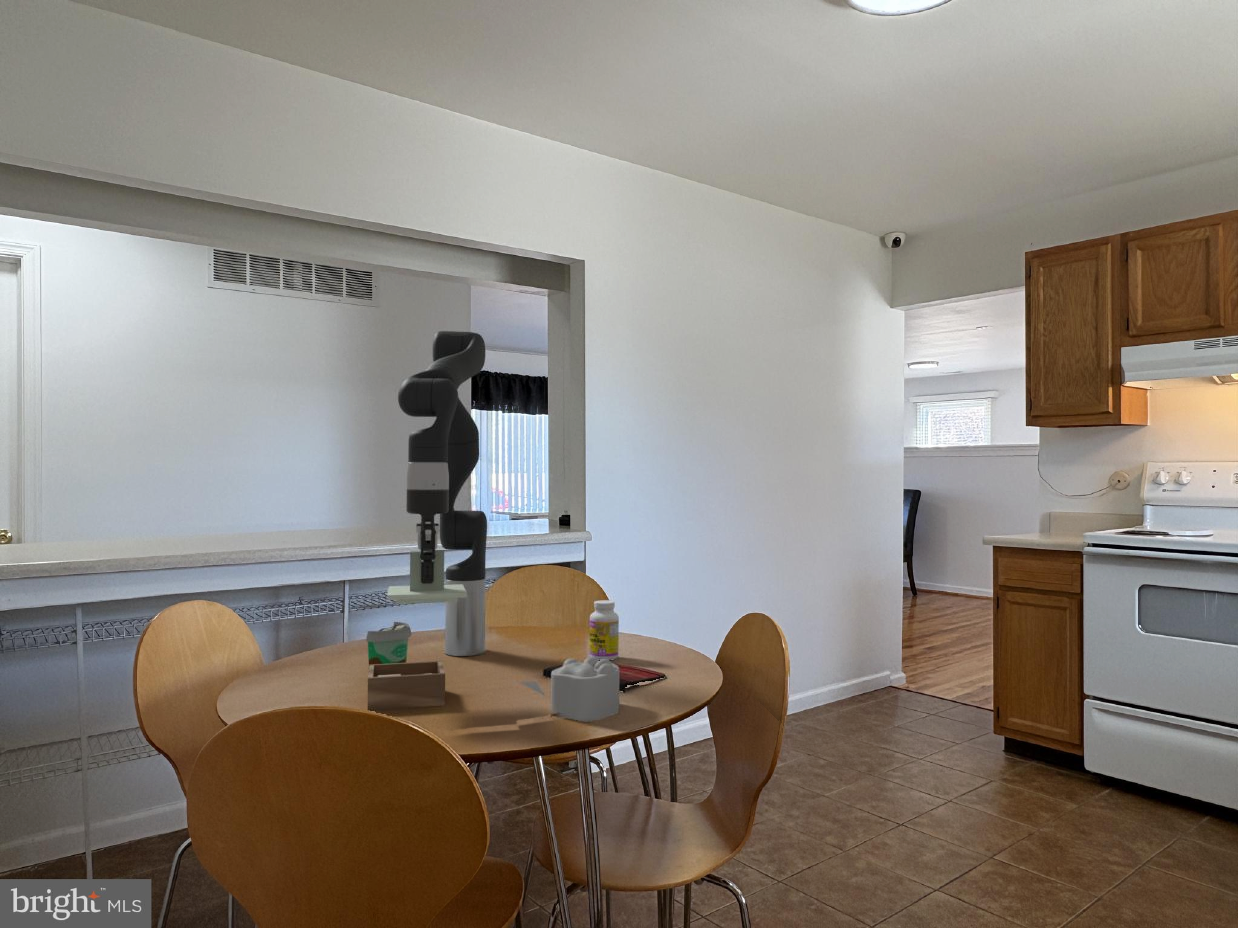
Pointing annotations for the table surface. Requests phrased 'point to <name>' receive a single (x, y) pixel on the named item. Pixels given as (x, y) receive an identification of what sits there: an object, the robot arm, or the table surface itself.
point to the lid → (426, 592)
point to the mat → (533, 686)
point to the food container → (388, 644)
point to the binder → (624, 675)
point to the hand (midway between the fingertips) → (427, 581)
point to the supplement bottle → (604, 631)
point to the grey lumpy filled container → (585, 689)
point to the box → (406, 685)
